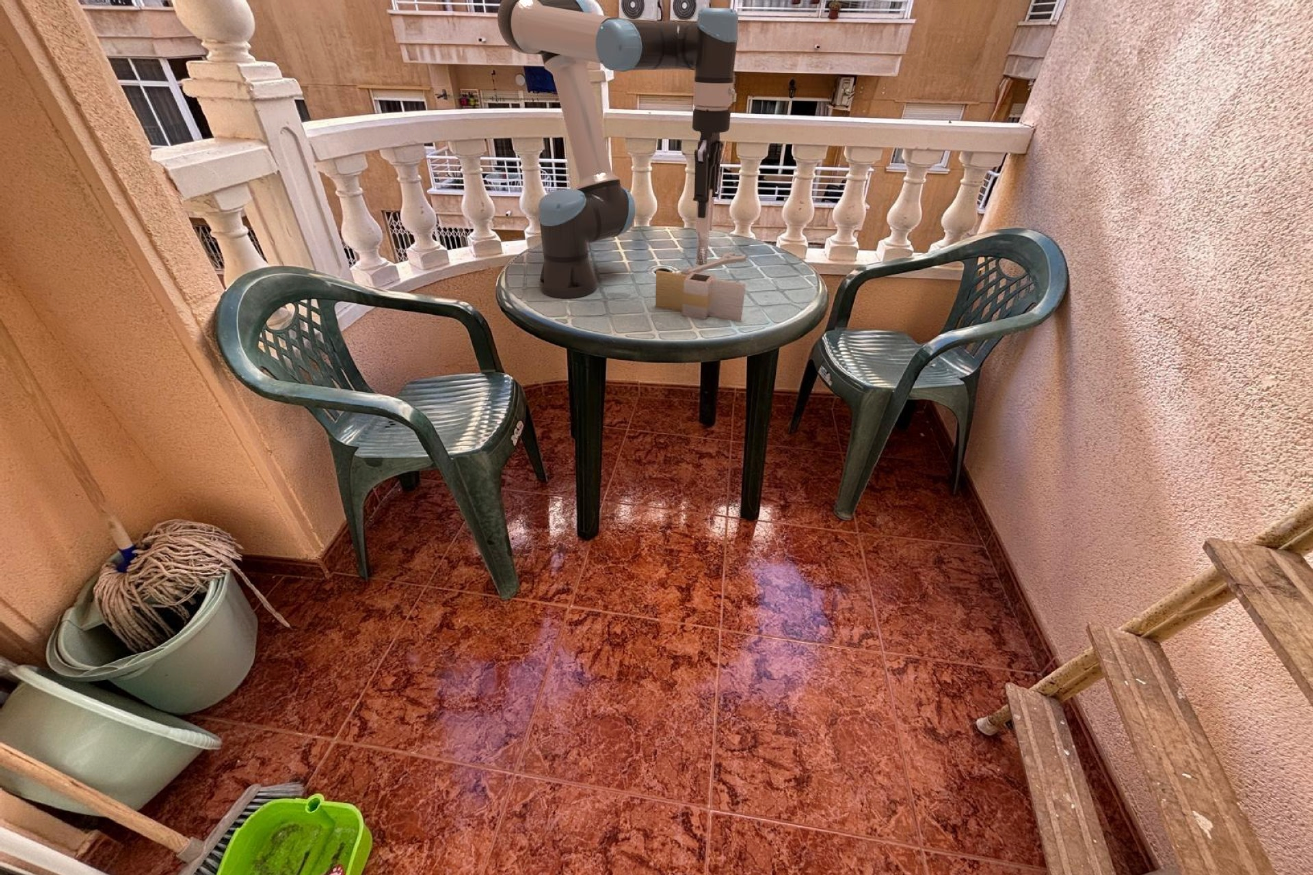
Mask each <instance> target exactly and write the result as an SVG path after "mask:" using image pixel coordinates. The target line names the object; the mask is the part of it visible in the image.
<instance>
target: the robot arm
mask: <svg viewBox="0 0 1313 875" xmlns="http://www.w3.org/2000/svg"><path fill="white" fill-rule="evenodd" d="M696 19H697V20H696V21H695V22H692V21H691V22H689V21H672V20H670V21H667V20H664V21H662V20H661V21H660V20H659V21H658V20H641V19H640V20H638V19H637V20H636V19H627V18H623V17H622V18H621V17H614V16H607V15H602V14H596V13H592V11H591V9H590V7H589V5H588V4H587V2H586V1H585V0H501V1H500V4H499V6H498V10H497V19H496V20H497V27H498V30H499V33H500V35H501V38H502V39H503V40H504V43H506V44H507V45H508V47H510V48H512V49H513V50H514V51H516V52H518V53H522V54H526V55H541V60H542V63H543V67H544V69H545V70H547V71H548V72H549V73H551V75H552V76H553V81H554V85H555V90H556V93H557V98H558V100H559V104H560V107H561V112H562V115H563V120H564V123H565V127H566V132H567V135H568V138H569V144H570V146H571V147H570V148H571V150H572V155H573V160H574V163H575V165H576V171H577V174H578V178H579V182H578V185H577V186H576V189H572V188H571V189H568V188H567V189H564V190H563V189H562V190H561V189H560V190H559V189H558V190H556V191H552V192H549V193H547V194H545V195H543V197H541V198H540V200H539V203H538V222H539V226H540V227H539V228H540V236H541V237H540V238H541V246H542V256H543V262H542V266H541V272H540V277H539V289H540V290H539V291H541V293H542V294H544V295H547V296H549V297H553V298H559V299H561V298H562V299H571V298H572V299H574V298H579V297H584V296H588V295H590V294H592V293H594V292H595V291H596V290H597V287H598V282H597V281H598V280H597V276H596V274H595V271H594V269H593V266H592V265H593V264H592V262H591V260H590V256H589V244H591V243H595V242H599V241H603V240H606V239H607V240H608V239H610V238H617V237H618V236H620V235H624V234H625V233H627V232H628V231H629V230H630V229H631V228H632V226H633V223H634V222H635V217H636V204H635V200H634V197H633V195H632V193H630V191H629V190H628V189H627V188H625V187H623V186H622V184H621V180H620V177H619V176H617V175H616V174H614V173H613V171H612V166H611V162H610V159H609V155H608V150H607V146H606V141H605V137H604V132H603V128H602V125H601V120H600V116H599V110H598V107H597V103H596V99H595V95H594V90H593V87H592V86H593V85H592V82H591V76H590V74H589V69H588V64H589V62H593V63H597V64H602V65H603V67H604V69H607V70H609V71H615V72H623V73H625V72H628V71H644V70H645V71H646V70H647V71H654V70H656V71H657V70H659V71H660V70H662V71H663V70H665V71H666V70H686V71H687V70H689V71H694V83H693V102H692V104H693V106H695V108H693V110H692V124H691V126H692V127H691V129H692V130H693V131H695V132H699V133H700V137H699V141H698V142H697V149H696V148H695V149H694V152H693V155H694V156H693V157H694V184H693V185H694V190H693V192H694V193H693V194H694V196H693V198H692V201H694V202H696V215H695V217H696V218H695V231H694V232H696V233H698V232H700V233H708V224H709V211H710V201H709V193H710V189H712V201H711V215H710V228H709V231H710V230H712V229H713V221H714V220H713V219H714V208H715V205H714V204H715V198H716V199H717V198H719V193H718V189H719V188H718V187H719V180H720V179H719V178H720V170H721V160H722V153H723V148H724V142H723V141H721V139H720V138H721V133H722V134H723V133H727V132H728V131H729V130H730V124H731V112H732V111H731V110H730V109H728V108H729V107H731V106H732V98H733V95H735V94H736V90H735V88H733V86H734V85H733V84H734V74H735V73H734V72H735V65H736V54H737V48H738V47H737V46H738V41H739V37H738V31H739V30H738V28H739V14H738V12H737V11H736V9H734V8H726V7H725V8H723V7H703V8H700V9H699V10H698V13H697V18H696Z"/></svg>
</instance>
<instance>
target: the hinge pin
mask: <svg viewBox="0 0 1313 875" xmlns="http://www.w3.org/2000/svg"><path fill="white" fill-rule="evenodd" d="M709 201H710V211H709V224H708V233H700V232H697V240H696V241H697V245H696V259H695V260H696V261H695V263H696V264H697V265H706V264H707V262H708V252H709V240H710V229H709V228H710V215H711V201H712V189H710V193H709Z"/></svg>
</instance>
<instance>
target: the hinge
mask: <svg viewBox="0 0 1313 875" xmlns="http://www.w3.org/2000/svg"><path fill="white" fill-rule="evenodd" d="M716 277H717V275H715V274H709V273H702V272H698V273H697V272H691V273H690V274H689V275H684V274H681V273H676V272H670V271H664V270H656V272H655V308H661V309H666V310H672V311H678V312H681V314H682V315H681V316H682V317H687V318H692V319H698V320H703V321H706V320H707V318H708V317H713V318H718V319H723V320H730V321H734V322H735V321H736V322H741V321H742V318H743V310H744V301H745V296H746V294H745V292H746V286H747V284H746V283H742V282H736V281H729V280H722V279H717V278H716Z"/></svg>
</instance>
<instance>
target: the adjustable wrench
mask: <svg viewBox="0 0 1313 875" xmlns="http://www.w3.org/2000/svg"><path fill="white" fill-rule="evenodd" d="M746 258H747V255H746V254H745V253H743V254H742V255H737V256H736V255H735V252H734V251H733V252H731V251H730V252H726V253H722V254H721V256H720V258H717V259H713V260H710V261H707V264H706V265H698V264H697V265H694V266H690V267H687V268H684V269H681V270H680V274H684V275H689V274H690V273H691V272H697V273H702V272H704V271H707V270H710V269H713V268H717V267H720V266H723V265H727V264H736V262H740V263H743V262H745V261H746Z"/></svg>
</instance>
